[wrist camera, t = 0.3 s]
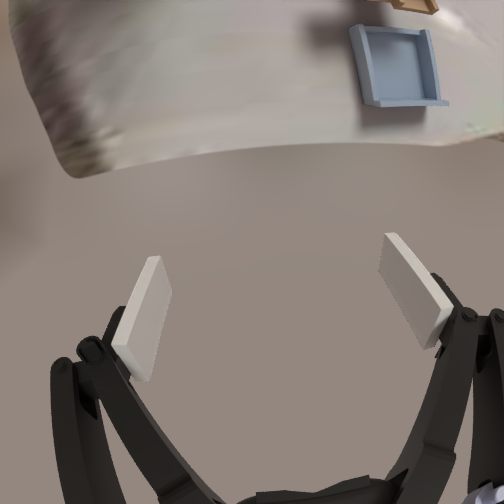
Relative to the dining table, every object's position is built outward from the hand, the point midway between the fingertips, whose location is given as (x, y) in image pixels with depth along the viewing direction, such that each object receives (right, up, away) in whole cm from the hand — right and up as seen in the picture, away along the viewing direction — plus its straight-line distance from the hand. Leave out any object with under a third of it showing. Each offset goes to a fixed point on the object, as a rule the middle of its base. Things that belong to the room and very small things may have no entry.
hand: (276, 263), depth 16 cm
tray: (+19, +28, +15) cm, 37 cm away
